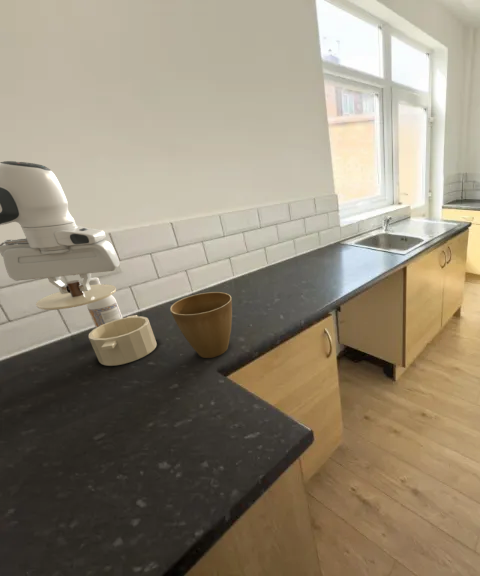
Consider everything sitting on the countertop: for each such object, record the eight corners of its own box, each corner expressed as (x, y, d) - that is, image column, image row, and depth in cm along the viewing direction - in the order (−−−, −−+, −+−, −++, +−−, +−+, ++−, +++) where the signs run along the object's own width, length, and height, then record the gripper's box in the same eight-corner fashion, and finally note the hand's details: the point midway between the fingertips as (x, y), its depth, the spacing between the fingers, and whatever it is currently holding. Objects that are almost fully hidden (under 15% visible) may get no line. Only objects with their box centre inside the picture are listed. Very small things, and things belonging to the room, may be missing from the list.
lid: (22, 316, 71) (12, 297, 69) (58, 293, 84) (51, 276, 82) (103, 306, 75) (96, 288, 74) (125, 285, 88) (120, 269, 87)
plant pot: (183, 372, 84) (165, 319, 78) (188, 345, 97) (173, 297, 91) (243, 357, 90) (231, 306, 84) (241, 334, 102) (230, 288, 96)
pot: (85, 376, 83) (72, 349, 80) (115, 341, 100) (105, 317, 97) (145, 365, 88) (136, 338, 84) (164, 333, 104) (157, 309, 101)
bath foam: (102, 335, 104) (78, 278, 96) (128, 329, 107) (107, 273, 100) (100, 344, 98) (74, 284, 91) (128, 337, 102) (105, 279, 94)
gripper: (-16, 243, 68) (13, 303, 73) (101, 235, 74) (120, 290, 79) (4, 237, 73) (30, 293, 78) (112, 230, 80) (129, 281, 85)
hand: (76, 291), depth 79 cm, fingers closed on lid, 2 cm apart
